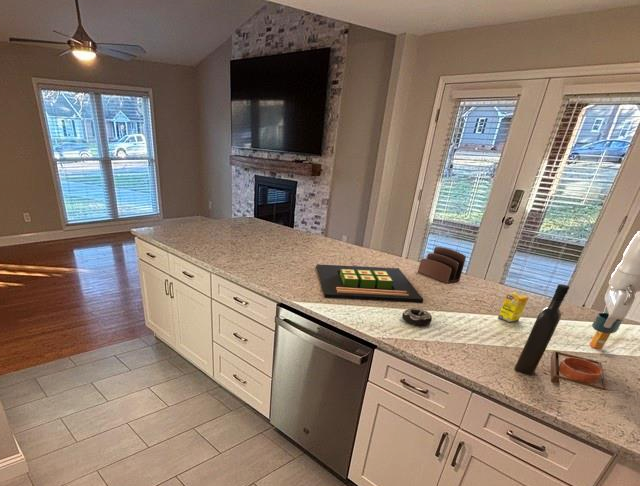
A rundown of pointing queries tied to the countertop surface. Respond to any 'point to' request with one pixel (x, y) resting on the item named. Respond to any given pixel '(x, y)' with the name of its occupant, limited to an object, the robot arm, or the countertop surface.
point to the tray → (556, 377)
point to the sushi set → (366, 283)
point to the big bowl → (580, 364)
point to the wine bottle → (541, 333)
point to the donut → (417, 317)
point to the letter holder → (443, 265)
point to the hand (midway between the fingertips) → (605, 322)
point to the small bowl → (600, 321)
